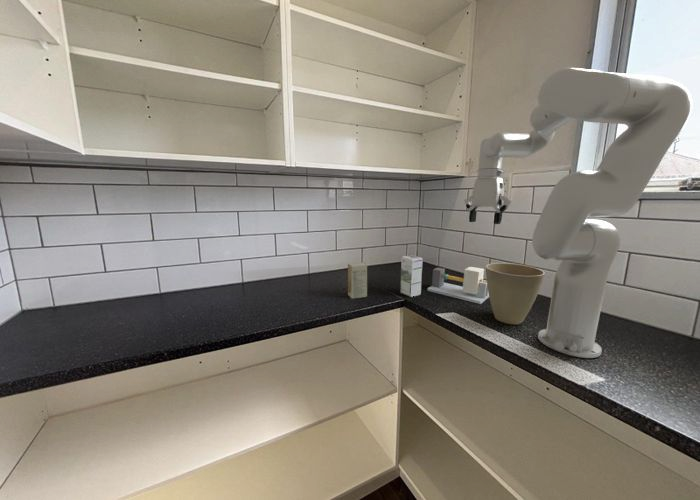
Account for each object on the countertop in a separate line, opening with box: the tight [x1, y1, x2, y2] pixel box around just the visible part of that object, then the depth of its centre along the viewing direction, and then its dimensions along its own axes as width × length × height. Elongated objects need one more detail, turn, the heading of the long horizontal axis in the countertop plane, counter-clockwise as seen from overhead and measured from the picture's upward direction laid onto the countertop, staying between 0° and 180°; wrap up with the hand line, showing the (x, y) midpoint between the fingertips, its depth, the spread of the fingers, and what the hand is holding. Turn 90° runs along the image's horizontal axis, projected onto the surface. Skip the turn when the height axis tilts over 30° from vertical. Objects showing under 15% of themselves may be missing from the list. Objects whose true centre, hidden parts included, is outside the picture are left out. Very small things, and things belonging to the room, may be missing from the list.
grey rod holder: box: [426, 267, 489, 305], centre depth 105 cm, size 12×22×8 cm, turn 48°
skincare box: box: [347, 262, 368, 300], centre depth 101 cm, size 6×4×12 cm
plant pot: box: [485, 262, 546, 325], centre depth 82 cm, size 15×15×16 cm
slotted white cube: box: [462, 266, 485, 295], centre depth 102 cm, size 6×5×8 cm
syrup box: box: [399, 254, 424, 298], centre depth 103 cm, size 6×6×14 cm
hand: (484, 222), depth 101 cm, fingers open, 9 cm apart
